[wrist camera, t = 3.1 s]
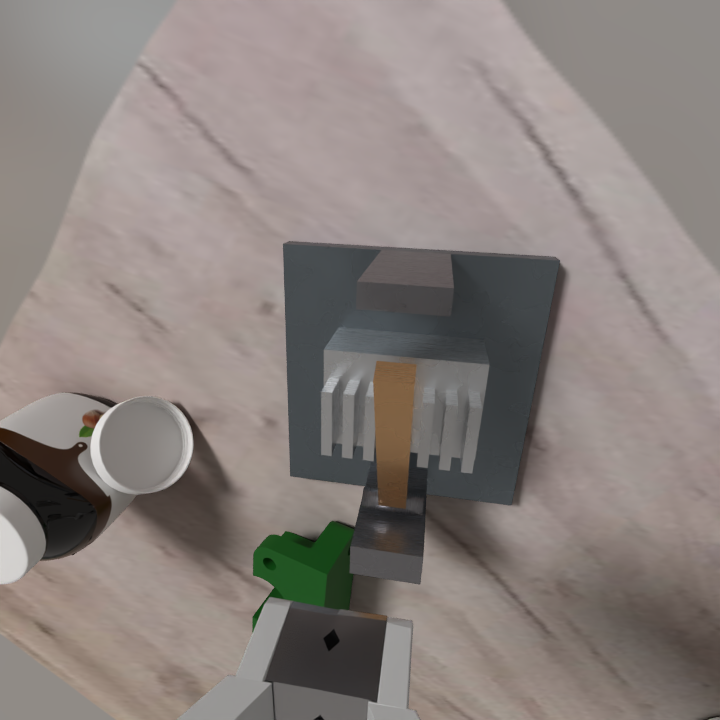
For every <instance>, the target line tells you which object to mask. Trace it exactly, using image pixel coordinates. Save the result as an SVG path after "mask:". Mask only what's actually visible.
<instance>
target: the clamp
mask: <svg viewBox="0 0 720 720" xmlns="http://www.w3.org/2000/svg"><path fill="white" fill-rule="evenodd" d="M354 530H355V529H352V528H350V527H348V526H345V525H343V524H340V523H338V522H335V521H331V522H330V523H329V524H328V525H327V527H326V528H325V530H324V531H323V532H322V534H321V535H320V537H319V538H318V539H317V541H316V542H312V541H310V540H308V539H305V538H303V537H301V536H298V535H296V534H294V533H291V532H287V531H285V533H284V534H283V535H282V536H279V535H269V536H268V537H267V538H266V539H265V540H264V541H263V542H262V543H261V544H260V546H259V547H258V548H257V549H256V550H255V552H254V555H253V576H257V577H260V578H262V579H264V580H266V581H268V582H269V583H270V584H272V585H273V586H274V587H275V588H274V589H273V590H272V592H271V593H270V594H269V596H268V597H267V598H266V600H265V601H264V602H263V604H262V605H261V606H260V608H259V609H258V610H257V612H256V613H255V614H254V616H253V631H254V629H255V626H256V624H257V621H258V619H259V616H260V614H261V611H262V609H263V606H264V604H265V603H266V601H267V600H268V598H269V597H273V598H278V599H284V600H290V601H295V602H300V603H306V604H311V605H316V606H321V607H327V608H332V609H337V610H340V609H344V610H349V604H350V596H351V589H352V581H353V574H352V573H350V546H351V542H352V538H353V534H354Z"/></svg>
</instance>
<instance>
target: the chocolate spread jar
mask: <svg viewBox="0 0 720 720" xmlns="http://www.w3.org/2000/svg"><path fill="white" fill-rule="evenodd" d="M193 447H194V441H193V433H192V429H191V426H190V424H189V422H188V420H187V418H186V417H185V415H184V414H183V412H182V411H181V410H180V409H179V408H178V407H177V406H175V405H174V404H172V403H171V402H169V401H167V400H165V399H162V398H159V397H155V396H139V397H134V398H131V399H129V400H126V401H124V402H122V403H119V404H115V403H113V402H111V401H108V400H106V399H103V398H100V397H96V396H92V395H88V394H81V393H71V392H70V393H57V394H53V395H49V396H47V397H44V398H42V399H39V400H37V401H35V402H33V403H31V404H29V405H27V406H25V407H24V408H22V409H20V410H18V411H16V412H15V413H13V414H11V415H9V416H8V417H6V418H4V419H3V420H1V421H0V584H9V583H13V582H16V581H18V580H19V579H21V578H22V577H23V576H24V575H25V574H26V573H27V572H28V571H29V570H30V569H31V568H32V567H34V566H35V565H36V564H37V563H38V562H39V561H48V560H55V559H60V558H64V557H67V556H70V555H74V554H75V553H77V552H78V551H80V550H82V549H83V548H85V547H86V546H88V545H89V544H91V543H92V542H93V541H94V540H95V539H97V538H98V537H99V536H100V535H101V534H102V533H103V532H104V531H105V530H106V529H107V528H108V527H109V526H110V525H111V524H112V523H113V522H114V521H115V520H116V518H117V517H118V516H119V515H120V514H121V513H122V512H123V511H124V510H125V509H126V508H127V507H128V505H129V504H130V503H131V502H132V501H133V500H134V498H135V497H136V496H137V495H140V494H147V493H153V492H158V491H161V490H164V489H166V488H168V487H169V486H171V485H173V484H174V483H175V482H176V481H177V480H179V479H180V478H181V477H182V475H183V474H184V473H185V471H186V470H187V468H188V466H189V464H190V461H191V458H192V455H193Z"/></svg>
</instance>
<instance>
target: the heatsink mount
mask: <svg viewBox="0 0 720 720" xmlns="http://www.w3.org/2000/svg"><path fill="white" fill-rule="evenodd" d="M283 256H284V288H285V320H286V352H287V384H288V416H289V448H290V476H293V477H301V478H308V479H316V480H323V481H331V482H338V483H346V484H353V485H361V486H365V487H368V488H376V489H378V481H377V458H376V436H375V413H374V390H373V378H374V373H375V367H376V361H385V362H395V363H406V364H417V367H416V381H415V394H414V408H413V422H412V435H411V449H410V463H409V476H408V490H407V493H413V494H421V495H424V504H423V514H422V516H419V515H412V514H405V513H398V512H391V511H383V510H376V509H369V508H362V501H361V505H360V509H359V513H358V517H357V522H356V526H355V530H354V534H353V538H352V542H351V546H350V573H352V574H358V575H364V576H370V577H377V578H383V579H389V580H395V581H402V582H408V583H414V584H420V582H421V573H422V564H423V552H424V532H425V512H426V494H429V495H437V496H444V497H452V498H459V499H467V500H474V501H482V502H489V503H497V504H504V505H512V500H513V495H514V490H515V485H516V480H517V475H518V470H519V465H520V460H521V455H522V450H523V445H524V440H525V435H526V429H527V424H528V419H529V414H530V409H531V404H532V399H533V394H534V389H535V384H536V379H537V374H538V369H539V364H540V359H541V354H542V349H543V344H544V339H545V334H546V329H547V323H548V318H549V313H550V308H551V303H552V298H553V293H554V288H555V283H556V278H557V273H558V268H559V263H560V260H559V259H557V258H556V257H549V256H532V255H515V254H498V253H480V252H463V251H446V250H429V249H412V248H395V247H378V246H361V245H344V244H327V243H310V242H293V241H289V242H287V243H284V244H283Z"/></svg>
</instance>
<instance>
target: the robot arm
mask: <svg viewBox="0 0 720 720" xmlns="http://www.w3.org/2000/svg"><path fill="white" fill-rule="evenodd" d="M386 625H387V626H386ZM412 635H413V622H412V620H405V619H399V618H392V617H388V618H387V616H384V615H377V614H371V613H364V612H357V611H350V610H344V609H340V610H337V609H332V608H327V607H321V606H316V605H311V604H306V603H300V602H295V601H290V600H284V599H278V598H273V597H269V598H268V600H267V601H266V603H265V604H264V606H263V609H262V611H261V614H260V616H259V619H258V621H257V624H256V626H255V629H254V631H253V634H252V636H251V639H250V641H249V644H248V646H247V648H246V651H245V653H244V656H243V658H242V661H241V663H240V666H239V668H238V671H237V673H236V676H234V675H227V676H226V677H225V678H224V679H223V680H222V681H220V682H219V683H218V684H217V685H216V686H215V687H213V688H212V689H211V690H210V691H209V692H208V693H207V694H205V695H204V696H203V697H202V698H201V699H200V700H198V701H197V702H196V703H195V704H194V705H193V706H192V707H190V708H189V709H188V710H187V711H186V712H185V713H184V714H182V715H181V716H180V717H179V718H178V719H177V720H420V717H419V715H418V713H417V711H416V710H412V709H408V705H409V687H410V670H411V652H412ZM708 720H720V717H716V718H711V719H708Z"/></svg>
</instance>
